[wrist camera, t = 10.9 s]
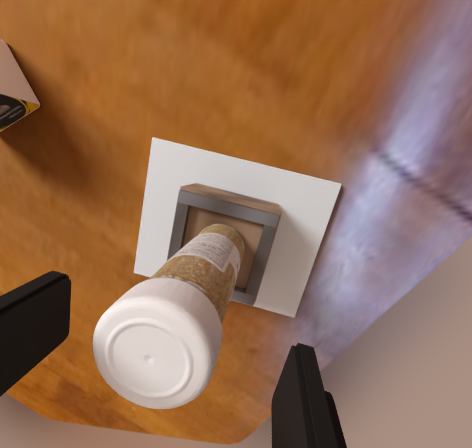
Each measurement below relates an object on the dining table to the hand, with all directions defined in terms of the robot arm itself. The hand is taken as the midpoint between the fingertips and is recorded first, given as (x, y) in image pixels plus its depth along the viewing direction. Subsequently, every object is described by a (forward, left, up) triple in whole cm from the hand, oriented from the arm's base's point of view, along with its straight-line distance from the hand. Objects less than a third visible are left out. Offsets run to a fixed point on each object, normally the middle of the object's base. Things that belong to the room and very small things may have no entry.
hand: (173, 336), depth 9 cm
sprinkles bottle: (0, 0, -12) cm, 12 cm away
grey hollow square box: (0, +1, -18) cm, 18 cm away
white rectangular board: (0, +1, -18) cm, 18 cm away
